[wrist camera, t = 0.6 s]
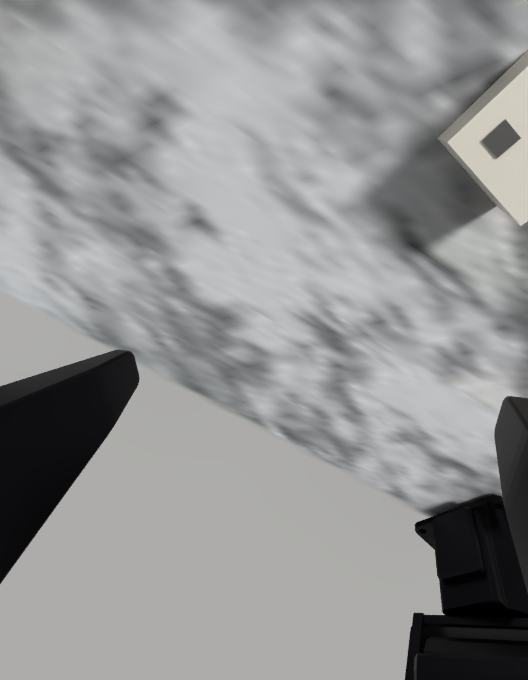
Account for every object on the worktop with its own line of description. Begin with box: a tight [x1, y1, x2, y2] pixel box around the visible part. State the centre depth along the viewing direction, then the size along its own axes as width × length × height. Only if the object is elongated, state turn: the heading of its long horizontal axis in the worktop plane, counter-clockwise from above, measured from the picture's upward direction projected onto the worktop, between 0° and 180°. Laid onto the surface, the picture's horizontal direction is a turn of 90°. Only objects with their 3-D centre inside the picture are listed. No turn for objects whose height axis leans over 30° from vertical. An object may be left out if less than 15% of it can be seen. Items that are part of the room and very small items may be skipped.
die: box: [437, 51, 528, 226], centre depth 14 cm, size 4×4×4 cm
